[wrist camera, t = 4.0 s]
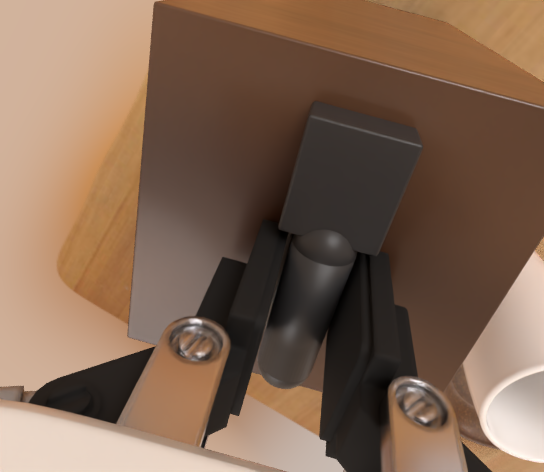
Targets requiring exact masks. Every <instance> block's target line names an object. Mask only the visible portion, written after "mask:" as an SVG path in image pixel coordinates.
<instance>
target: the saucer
mask: <svg viewBox="0 0 544 472" xmlns="http://www.w3.org/2000/svg"><path fill="white" fill-rule="evenodd" d="M444 394H445V395H446V397H447V398H448V399H449V401H450V402H451V404H452V406H453V409H454V411H455V414H456V419H457V423H458V428H459V432H460V436H461V437H463V438H465V439H467V440H469V441H472V442H474V443H477V444H480V445H483V446H486V447H490V448H494V449H499V448H498V447H496V446H495V445H494V444H493V443H492V442H491V441H490V440H489V439H488V438H487V437H486V435H485V434H484V432H483V430H482V428H481V425H480V422H479V419H478V416H477V413H476V410H475V407H474V404H473V401H472V398H471V395H470V391H469V388H468V385H467V381H466V377H465V373H464V369H463V365H461V367H460V368H459V370H458V371H457V373H456V374H455V376H454V377H453V379H452V381H451V382H450V384H449V385H448V387H447V388H446V390H445V392H444ZM499 450H501V449H499Z"/></svg>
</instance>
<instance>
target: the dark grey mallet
mask: <svg viewBox="0 0 544 472" xmlns="http://www.w3.org/2000/svg"><path fill="white" fill-rule="evenodd" d="M422 150H423V144H422V141H421V139H420V136H419V133H418V131H417V129H416V128H413V127H410V126H406V125H402V124H399V123H395V122H391V121H388V120H384V119H380V118H377V117H373V116H369V115H366V114H362V113H358V112H355V111H351V110H347V109H343V108H340V107H336V106H332V105H329V104H325V103H321V102H318V101H314V102H313V103H312V105H311V108H310V112H309V115H308V118H307V122H306V126H305V129H304V133H303V137H302V140H301V144H300V148H299V151H298V155H297V159H296V163H295V166H294V170H293V174H292V177H291V181H290V185H289V188H288V192H287V196H286V199H285V203H284V207H283V210H282V214H281V218H280V221H279V225H278V228H279V230H281V231H285V232H288V233H292V234H294V235H293V237H292V241H291V244H290V247H289V251H288V254H287V258H286V261H285V264H284V268H283V271H282V274H281V278H280V281H279V285H278V288H277V291H276V295H275V298H274V302H273V305H272V308H271V312H270V315H269V318H268V322H267V325H266V329H265V332H264V335H263V339H262V342H261V346H260V349H259V353H258V367H259V370H260V373H261V375H262V376H263V378H264V379H265V380H266V381H267V382H268V383H270V384H271V385H273V386H274V387H277V388H281V389H291V388H294V387H297V386H299V385H301V384H302V383H303V382H304V381H305V380H306V379H307V378H308V376H309V375H310V373H311V371H312V368H313V366H314V363H315V361H316V358H317V356H318V353H319V351H320V348H321V345H322V343H323V340H324V338H325V335H326V333H327V330H328V328H329V325H330V323H331V320H332V318H333V315H334V312H335V310H336V307H337V305H338V302H339V300H340V297H341V295H342V292H343V290H344V287H345V285H346V282H347V279H348V277H349V274H350V272H351V269H352V267H353V264H354V262H355V259H356V256H357V252H361V253H364V254H368V255H371V256H377V255H378V254H379V251H380V249H381V247H382V244H383V242H384V240H385V237H386V235H387V233H388V230H389V228H390V225H391V223H392V221H393V218H394V216H395V214H396V211H397V209H398V207H399V204H400V202H401V199H402V197H403V195H404V192H405V190H406V188H407V185H408V183H409V181H410V178H411V176H412V173H413V171H414V169H415V166H416V164H417V162H418V159H419V157H420V155H421V152H422Z"/></svg>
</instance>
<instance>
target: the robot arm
mask: <svg viewBox="0 0 544 472" xmlns="http://www.w3.org/2000/svg"><path fill="white" fill-rule="evenodd" d="M278 225H279V223H276V222H272V221H269V220H265V219H263V221H262V224H261V227H260V229H259V232H258V235H257V238H256V241H255V243H254V246H253V249H252V252H251V255H250V257H249V260H248V263H244V262H240V261H237V260H233V259H230V258H226V257H222V259H221V261H220V263H219V265H218V267H217V270H216V272H215V274H214V276H213V278H212V281H211V283H210V285H209V287H208V289H207V292H206V294H205V296H204V298H203V300H202V303H201V305H200V307H199V309H198V311H197V314H196V316H190V317H183V318H180V319H177V320H175V321H173V322H172V323H170V324H169V325H168V326H167V327H166V329H165V330H164V331H163V333H162V335H161V337H160V339H159V341H158V343H157V345H156V346H155V347H152V348H149V349H146V350H143V351H140V352H137V353H134V354H131V355H128V356H125V357H121V358H119V359H116V360H112V361H109V362H106V363H103V364H100V365H97V366H94V367H91V368H88V369H85V370H82V371H78V372H75V373H72V374H70V375H66V376H63V377H60V378H57V379H55V380H53V381H51V382H49V383H46V384H45V385H44V386H43V387H41V388H40V389H39V390H37V391H25V392H24V386H11V387H0V472H286V471H283V470H279V469H275V468H272V467H268V466H265V465H261V464H258V463H254V462H251V461H247V460H244V459H240V458H236V457H233V456H229V455H226V454H222V453H219V452H215V451H211V450H208V449H205V447H206V443H207V439H208V436H209V435H210V434H212V433H214V432H216V431H218V430H221V429H223V428H225V427H226V426H227V423H228V419H229V415H230V414H233V415H237V416H239V414H240V410H241V407H242V404H243V400H244V396H245V394H246V390H247V387H248V383H249V380H250V377H251V373H252V370H253V366H254V363H255V359H256V356H257V353H258V349H259V346H260V342H261V339H262V336H263V332H264V329H265V325H266V321H267V317H268V313H269V309H270V305H271V301H272V297H273V293H274V289H275V285H276V281H277V277H278V273H279V269H280V265H281V261H282V257H283V253H284V249H285V245H286V241H287V237H288V232H285V231H281V230H279V228H278ZM319 437H320V439H321V440H325V441H326V456H328V457H331V458H335V459H337V460H338V462H339V463H340V464H341V465H342V467H343V468H344V471H343V472H492V471H491V470H490V469H489V468H488V467H487V466H486V465H485V464H484V463H483V462H482V461H481V460H480V459H479V458H478V457H477V456H475V455H474V454H473V453H472V452H471V451H470V450H469V449H468V448H467V447H466V446H465V445H464V444H463V443H462V442H461V437H460V432H459V428H458V423H457V419H456V414H455V411H454V409H453V406H452V404H451V402H450V401H449V399H448V398H447V397H446V395H445V394H444V393H443V392H442V391H441V390H440V389H439V388H437V387H436V386H434V385H433V384H431V383H430V382H428V381H426V380H424V379H421V378H419V377H418V373H417V367H416V360H415V354H414V347H413V341H412V335H411V328H410V322H409V315H408V311H407V309H406V308H405V307H402V306H399V305H395V303H394V295H393V286H392V278H391V269H390V261H389V254H388V253H385V252H381V251H379V254H378V255H377V256H371V255H368V254H364V253H361V252H358V253H357V256H356V259H355V262H354V264H353V267H352V269H351V272H350V274H349V277H348V279H347V282H346V285H345V287H344V290H343V292H342V295H341V297H340V300H339V302H338V305H337V307H336V310H335V312H334V315H333V318H332V320H331V323H330V325H329V328H328V332H327V340H326V353H325V367H324V380H323V393H322V407H321V420H320V434H319Z"/></svg>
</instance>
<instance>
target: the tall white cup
mask: <svg viewBox="0 0 544 472" xmlns="http://www.w3.org/2000/svg"><path fill="white" fill-rule="evenodd" d="M462 365H463V369H464V373H465V377H466V381H467V385H468V388H469V391H470V395H471V398H472V401H473V404H474V407H475V410H476V413H477V416H478V419H479V422H480V425H481V428H482V430H483V432H484V434H485V435H486V437H487V438H488V439H489V440H490V441H491V442H492V443H493V444H494V445H495V446H496V447H498V448H499V449H501V450H502V451H504V452H506V453H508V454H510V455H512V456H515V457H517V458H521V459H524V460H528V461H533V462H540V463H544V261H543V260H542V258H541V257H540V256H539V255H538V254H537V253H536V251H534V252H533V254H532V255H531V257H530V259H529V260H528V262H527V263H526V265H525V266H524V268H523V270H522V271H521V273H520V274H519V276H518V277H517V279H516V281H515V282H514V284H513V285H512V287H511V288H510V290H509V291H508V293H507V295H506V296H505V298H504V299H503V301H502V302H501V304H500V306H499V307H498V309H497V310H496V312H495V313H494V315H493V316H492V318H491V320H490V321H489V323H488V324H487V326H486V327H485V329H484V331H483V332H482V334H481V335H480V337H479V338H478V340H477V342H476V343H475V345H474V346H473V348H472V349H471V351H470V352H469V354H468V356H467V357H466V359H465V360H464V362H463V363H462Z"/></svg>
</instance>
